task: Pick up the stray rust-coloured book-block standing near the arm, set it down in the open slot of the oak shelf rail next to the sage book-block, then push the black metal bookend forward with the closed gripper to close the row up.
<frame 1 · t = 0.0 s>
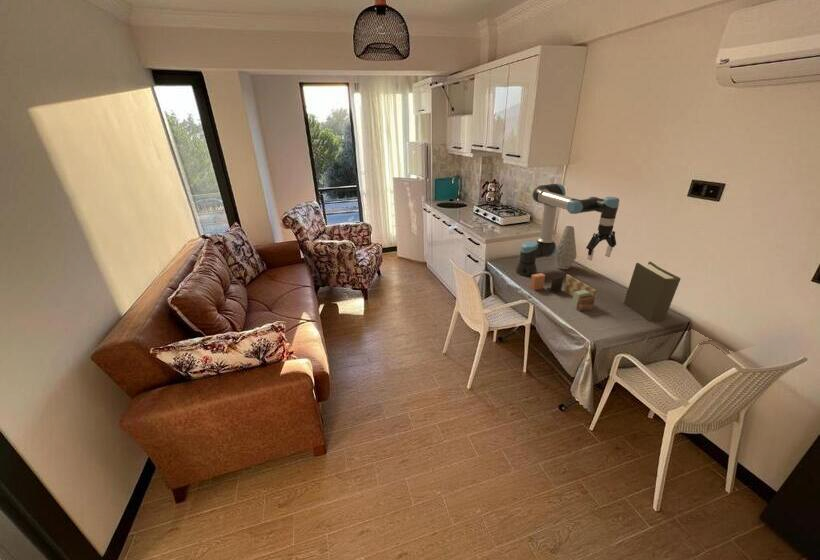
hand: (598, 258, 200), 28 cm above the table, fingers open, 13 cm apart
book green: (579, 306, 204), on the table
book: (644, 312, 195), on the table
book rust: (536, 288, 228), on the table
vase: (562, 267, 257), on the table
bookend: (554, 282, 222), point 5 cm above the table, slide at 0.0 cm
shelf: (577, 298, 213), on the table
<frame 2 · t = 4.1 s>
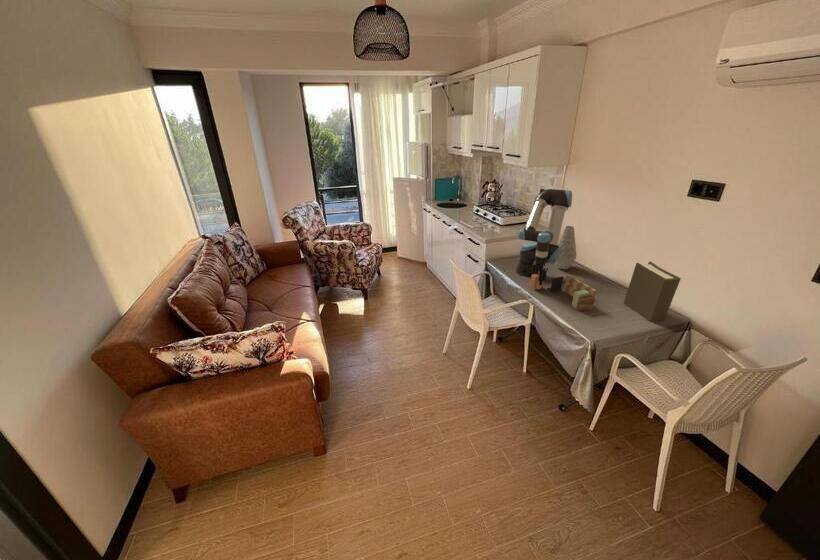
hand: (536, 287, 228), 1 cm above the table, fingers closed on book rust, 4 cm apart
book rust: (536, 287, 228), on the table, touching gripper
everything else where it was.
when the fingers open (2 cm above the table, at t = 9.9 s): book rust drops 1 cm, on the table.
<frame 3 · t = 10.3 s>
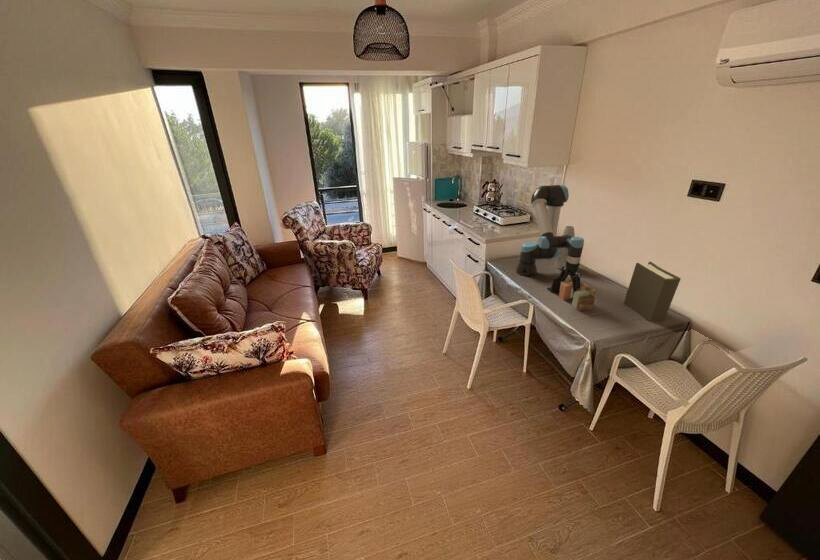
hand: (566, 293, 213), 3 cm above the table, fingers open, 9 cm apart
book rust: (565, 297, 214), on the table
everything else where it was.
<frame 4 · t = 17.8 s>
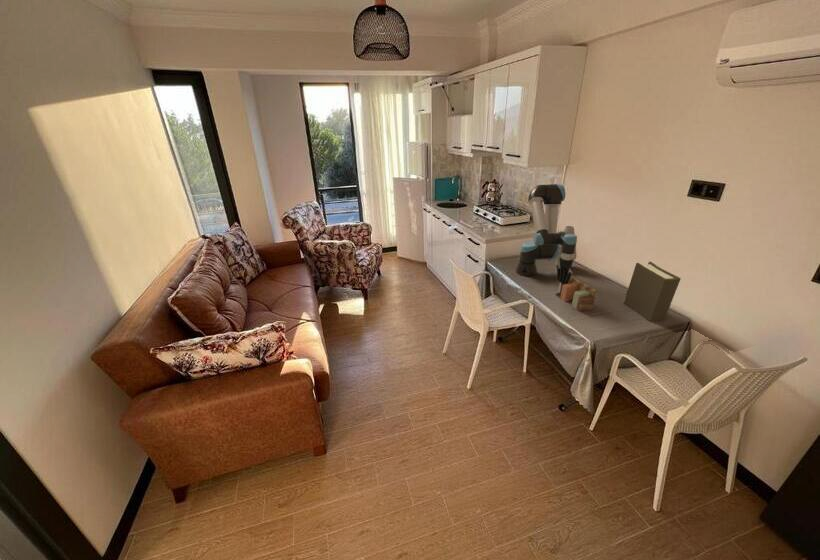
hand: (560, 291, 218), 2 cm above the table, fingers closed
book rust: (567, 298, 213), on the table, touching bookend
bookend: (563, 288, 215), point 5 cm above the table, slide at 8.8 cm, touching book rust, hand
everything else where it was.
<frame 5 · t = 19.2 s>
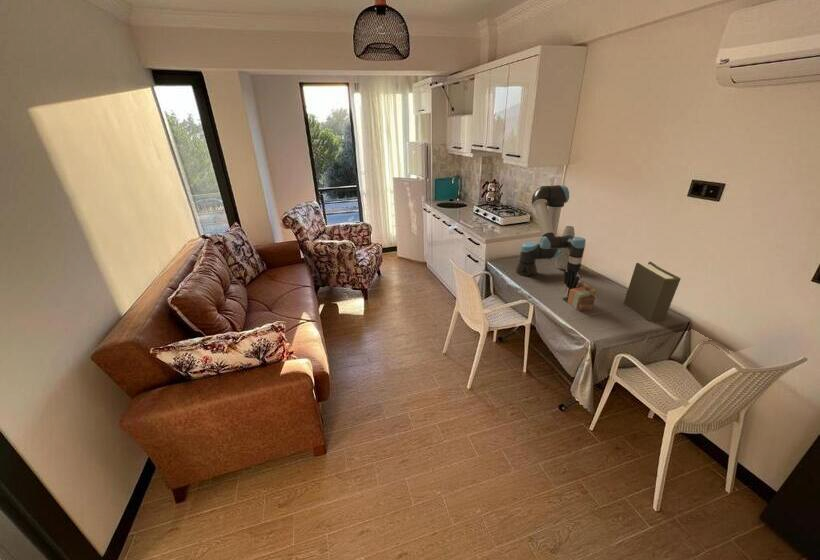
hand: (567, 295, 212), 2 cm above the table, fingers closed
book green: (579, 306, 204), on the table, touching book rust, shelf
book rust: (574, 303, 207), on the table, touching book green, bookend
bookend: (571, 292, 209), point 5 cm above the table, slide at 15.4 cm, touching book rust, hand
everything else where it was.
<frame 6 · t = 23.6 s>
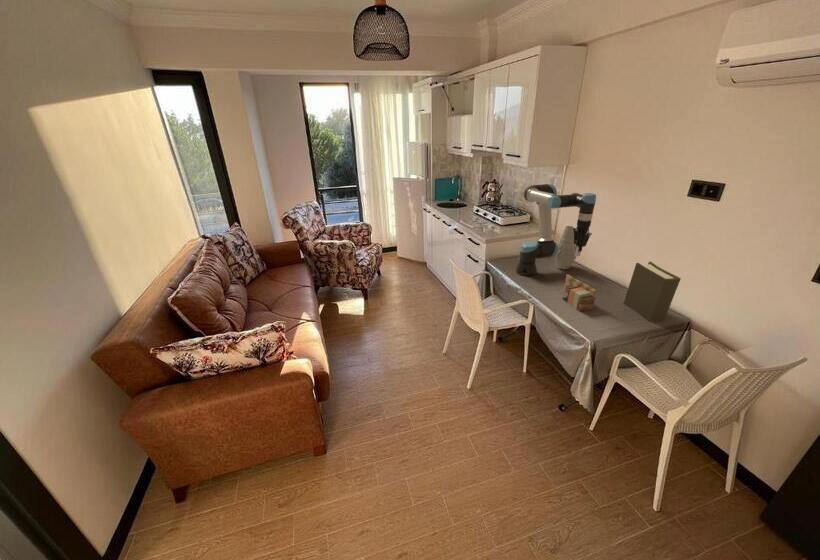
hand: (577, 255, 209), 26 cm above the table, fingers closed
book green: (579, 306, 204), on the table, touching shelf
book rust: (574, 303, 207), on the table
bookend: (571, 292, 209), point 5 cm above the table, slide at 15.3 cm
everything else where it was.
at the end: book rust 1.8 cm from the target spot, on the table; bookend slide at 15.3 cm; book rust tilted 0° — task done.
